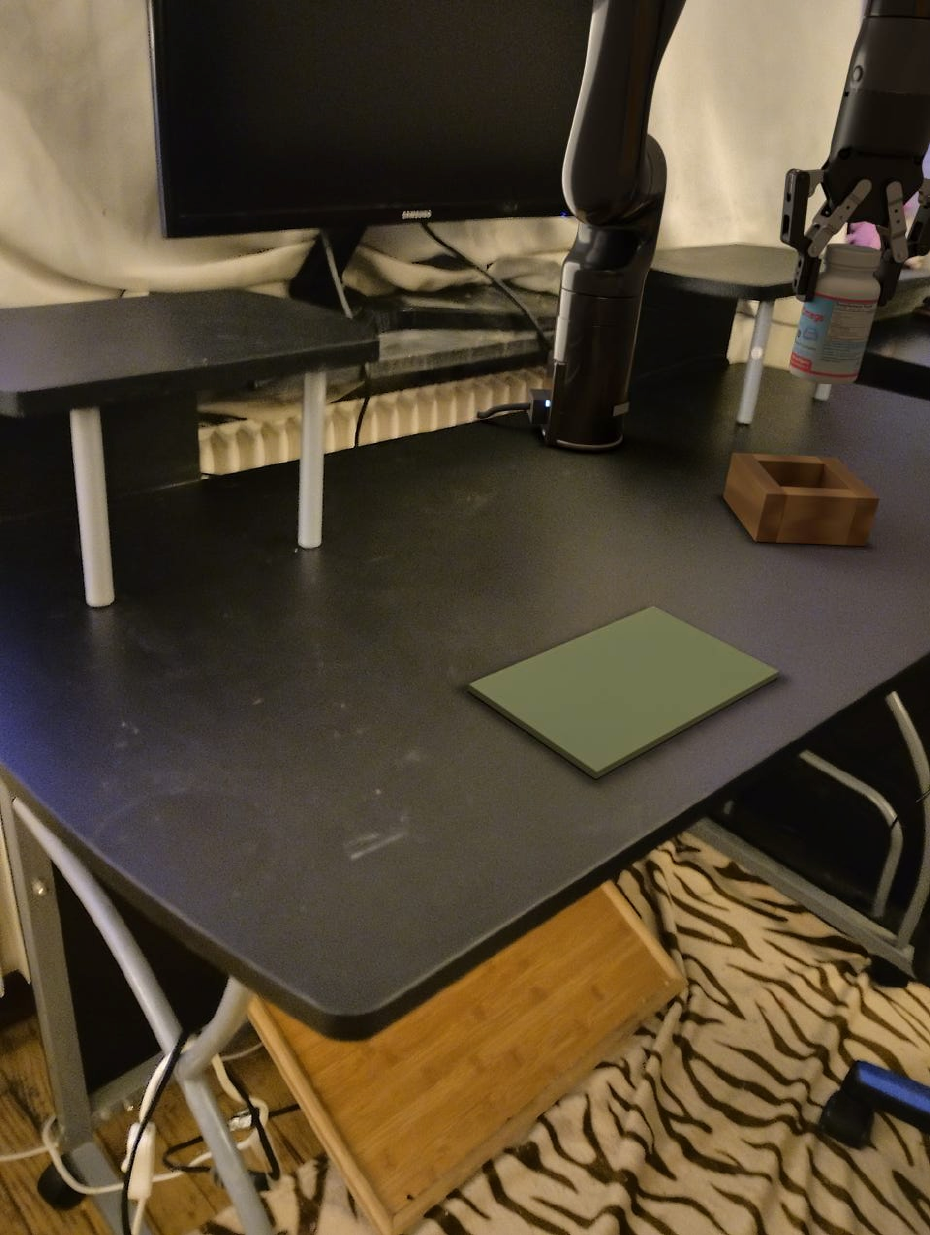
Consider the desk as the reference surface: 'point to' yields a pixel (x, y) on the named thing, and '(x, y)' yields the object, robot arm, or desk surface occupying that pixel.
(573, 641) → the mat
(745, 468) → the stand
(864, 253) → the pill bottle
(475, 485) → the desk surface
